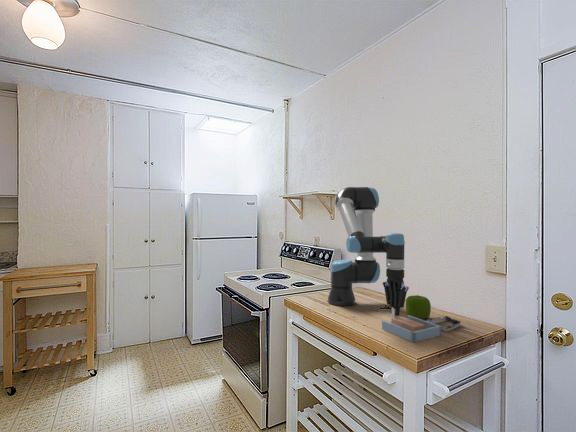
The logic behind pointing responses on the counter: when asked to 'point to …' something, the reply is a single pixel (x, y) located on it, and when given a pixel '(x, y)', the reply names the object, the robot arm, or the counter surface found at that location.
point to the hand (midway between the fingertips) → (395, 322)
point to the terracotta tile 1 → (399, 321)
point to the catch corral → (428, 332)
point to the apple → (418, 306)
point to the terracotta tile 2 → (413, 326)
